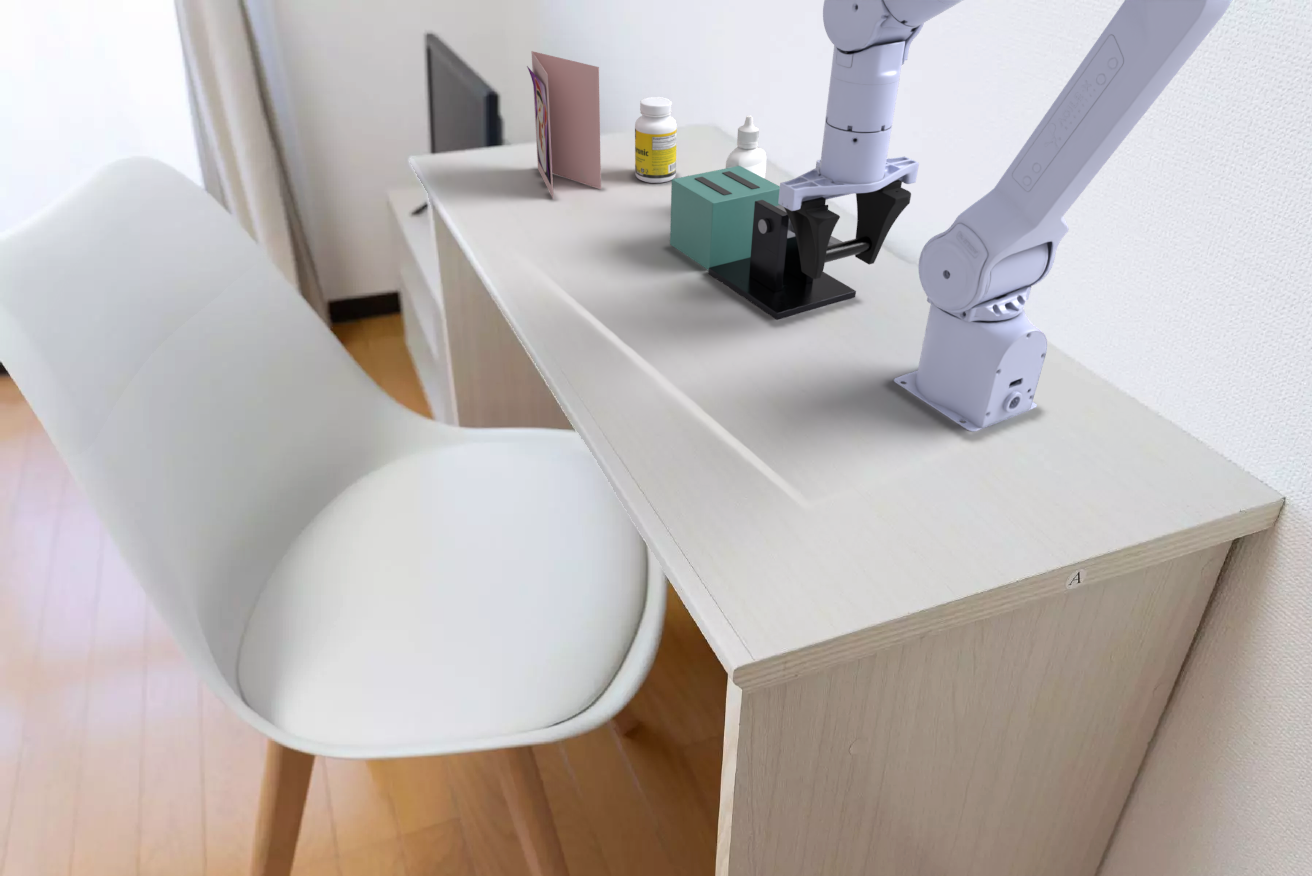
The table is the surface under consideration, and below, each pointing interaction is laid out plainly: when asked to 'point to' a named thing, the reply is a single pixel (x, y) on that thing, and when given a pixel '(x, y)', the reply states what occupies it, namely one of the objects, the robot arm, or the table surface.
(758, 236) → the switch bracket
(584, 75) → the greeting card
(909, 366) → the table surface
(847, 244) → the lever
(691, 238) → the toaster
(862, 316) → the table surface
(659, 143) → the supplement bottle
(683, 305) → the table surface
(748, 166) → the eye dropper bottle
